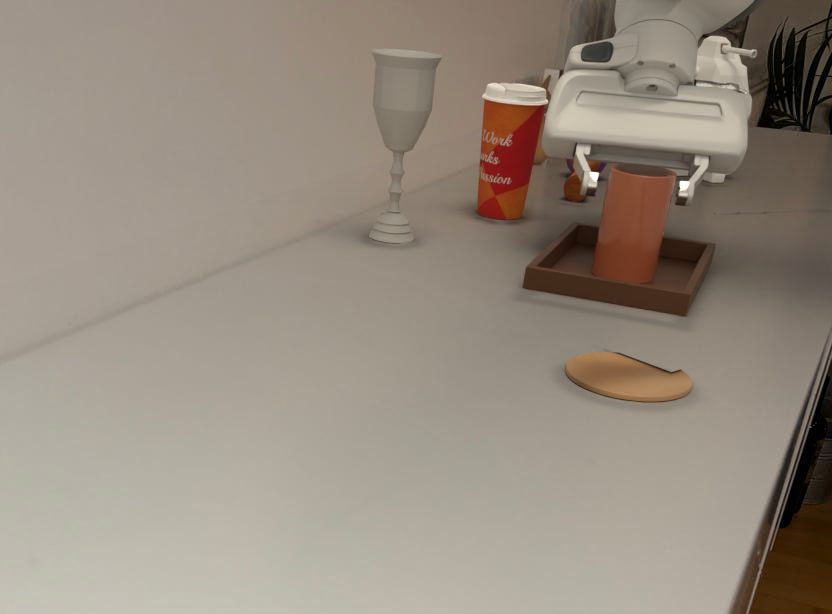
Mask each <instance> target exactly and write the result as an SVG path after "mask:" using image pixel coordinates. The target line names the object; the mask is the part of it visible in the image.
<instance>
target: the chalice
mask: <svg viewBox="0 0 832 614" xmlns="http://www.w3.org/2000/svg"><path fill="white" fill-rule="evenodd" d="M370 51H371V55H372V57H373V60H374V64H375V68H374V80H373V81H374V82H373V83H374V84H373V95H372V96H373V97H372V100H373V101H372V106H373V110H374V116H375V120H376V124H377V127H378V129H379V132H380V135H381V138H382V141H383V144H384V146H385V148H386V149H388V150H389V151H391V152H392V156H393V162H392V166H391V169H390V170H389V171H388V173H389V174H390V176H391V183H390V186H389V187H388V188H387V192H388V194H389V200H390V202H389V205H388V208H387V209H386V211H385V212H381V213H380V214H379V215H378V216H377V217H376V221H375V222H374V224H373V225H372V230H371V231H370V233H368V236H369V238H370V239H372V240H375V241H377V242H378V241H379V242H381V243H390V244H405V243H410V242H413V241H415V236H414V234H413V232H412V230H413V228H412V226H411V224H410V223H411V222H410V219H409V218H408V216H407V215H406V214H404V213H402V210H401V209H400V199H401V196H402V194H403V193H405V191H404V189H403V188H402V182H401V181H402V179H403V176H404V175H405V173H406V172H405V170H404V165H403V159H404V156H405V153H407V152H410V151H412V150H413V149H414V147H415V146H416V144H417V142H418V140H419V138H420V137H421V135H422V133H423V132H424V130H425V127H426V125H427V123H428V121H429V118H430V115H431V114H432V112H433V111H432V110H433V105H434V104H433V103H434V92H435V85H436V83H435V82H436V73H437V72H436V71H437V69H438V66H439V64H440V62H441V60H442V59H443V55H441V54H438V53H433V52H427V51H420V50H411V49H396V48H375V49H371V50H370Z"/></svg>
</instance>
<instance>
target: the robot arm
mask: <svg viewBox="0 0 832 614" xmlns="http://www.w3.org/2000/svg"><path fill="white" fill-rule="evenodd" d="M766 1H767V0H615V6H614V13H613V16H614V18H613V19H614V20H613V21H614V27H615V33H614V36H613V37H610V38H606V39H601V40H597V41H592V42H587V43H580V44H577V45H574V46H572V47H571V49H569V50H570V51H569V52H568V55H567V58H566V61H565V64H564V67H563V68H564V69H563V73H562V75H561V76H560V77H559V79H558V80H557V81H556V83H555V85H554V88H553V91H552V93H551V97H550V100H549V102H548V107H547V111H546V115H545V120H544V125H543V129H542V135H541V142H540V148H541V150H542V151H543V153H544V155H546V156H547V157H549V158H556V159H557V158H559V159H566V158H567V159H574V163H573V168H574V170H575V171H576V173H577V175H578V177H579V179H580V181H582V185H581V193H580V195H582V196H586V197H593V198H595V197H596V193H597V189H598V184H599V182H598V181H599V175H600V173H599V172H591V170H590V168H589V165H588V161H597V162H607V164H608V163H609V164H643V165H651V166H657V167H662V168H668V169H678V170H688V171H690V173H689V176H688V177H689V179H688V180H679V182H678V186H677V187H676V190H675V199H674V206H681V207H690V206H691V204H692V202H693V198H694V193H695V189H696V188H697V187H698V186H699V185H700V184H701V182H702V181H704V180H703V178H704V175H705V173H706V172H708V173H718V174H729V175H731V174H733V173H734V172H735V171H736V170H737V169H738V168H739V167H740V166H741V164H742V162H743V161H744V158H745V155H746V153H747V149H748V144H749V127H748V126H749V125H748V124H749V123H748V121H749V120H750V119H751V115H752V110H753V109H752V108H753V98H752V95H751V94H750V92H749V93H748V92H747V91H745V90H744V89H741V88H739V85H738V84H735V83H717V82H713V81H705V80H695V79H694V78H695V71H696V62H697V53H698V48H699V40H700V38H701V37H702V36H703V35H705V36H710V35H712V34H714V33H717V32H719V31H721V30H723V29H725V28H727V27H729V26H732V25H734V24H735V23H737V22H739V21H741V20H743V19H745V18H747V17H748V16H750V15H752V13H754V12H755V11H756V10H757V9H759V8H760V7H761V6H762V5H763V4H765V2H766Z"/></svg>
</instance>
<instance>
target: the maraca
mask: <svg viewBox="0 0 832 614" xmlns="http://www.w3.org/2000/svg"><path fill="white" fill-rule="evenodd" d="M565 161H566V167H567V168H568V170H569V171H570V172H571V174H570V175H569V176H568V177H567V179H565V182H564V184H563V189H562V191H563V194H564V196H565V198H566V199H567V200H569V201H570V202H576V203H577V202H580V201H583V200H584V199H586V197H587V196H582V195H580V193H581V185H582V181H580V179H579V177H578V175H577V173H576V171H575V170H574V168H573V163H574V159H567V158H565ZM607 164H608V163H607V162H597V161H588V165H589V168H590V170H591V172H599V174H601V173H602V172H603V171H604V169H605V167H606V166H607Z"/></svg>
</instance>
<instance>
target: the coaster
mask: <svg viewBox="0 0 832 614" xmlns="http://www.w3.org/2000/svg"><path fill="white" fill-rule="evenodd" d="M565 373H566V376H567V377H568V379H569V380H571V381H572V382H573V383H575V384H576V385H578V386H580V387H582V388H583V389H585V390H588V391H590V392H593V393H596V394H599V395H602V396H604V397H605V396H606V397H610V398H614V399H619V400H624V401H625V400H626V401H633V402H650V403H651V402H653V403H654V402H667V401H672V400H678V399H680V398H683V397H685V396H686V395H688V394H689V393H690V392H691V389H692V386H693V380H692V378H691V377H690V375H688V373H686V372H685V371H684V370H683V369H676V370H674V371H670V370H667V369H664V368H661V367H659V366H656V365H654V364H651V363H649V362H645V361H642V360H640V359H638V358H635V357H632V356H630V355H627V354H624V353H621V352H618V351H617V352H616V351H595V352H588V353H582V354H578V355H576V356H574V357H571V358H570V359H569V360H568V361H567V362H566V365H565Z"/></svg>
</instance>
